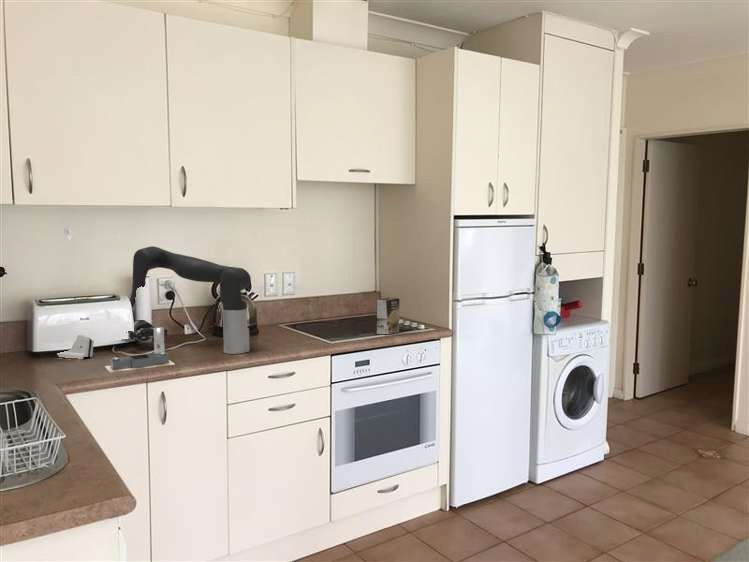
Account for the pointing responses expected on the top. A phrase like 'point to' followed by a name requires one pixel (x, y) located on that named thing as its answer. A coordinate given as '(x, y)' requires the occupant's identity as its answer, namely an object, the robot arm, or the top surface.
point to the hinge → (79, 348)
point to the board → (137, 368)
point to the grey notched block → (139, 361)
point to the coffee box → (387, 315)
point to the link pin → (158, 340)
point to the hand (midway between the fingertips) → (152, 336)
